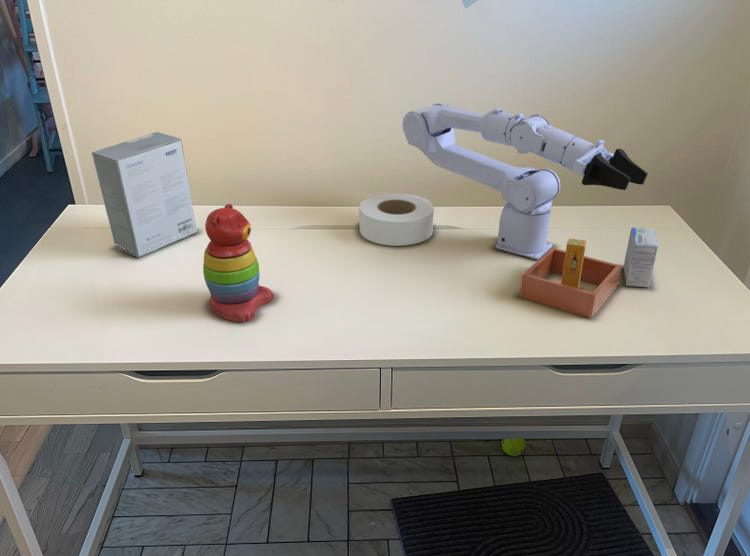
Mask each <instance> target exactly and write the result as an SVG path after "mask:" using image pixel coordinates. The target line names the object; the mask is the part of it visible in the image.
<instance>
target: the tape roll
mask: <svg viewBox="0 0 750 556" xmlns="http://www.w3.org/2000/svg"><path fill="white" fill-rule="evenodd" d="M434 209H435V208H434V205H433V204H432V202H431V201H430V200H428V199H426V198H424V197H421V196H419V195H414V194H408V193H383V194H377V195H374V196H373V195H372V196H370V197H368V198H366V199H364V200H362V201H361V202H360V203H359V206H358V219H359V221H358V222H359V224H358V225H359V233H360V235H361V236H362V237H363V238H364V239H366V240H367V241H369V242H372V243H376V244H379V245H384V246H391V247H393V246H394V247H395V246H396V247H400V246H411V245H416V244H419V243H423V242H425V241H427V240H428V239H430V238H431V236H433V233H434V213H435V212H434V211H435V210H434Z"/></svg>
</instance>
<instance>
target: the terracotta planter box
mask: <svg viewBox="0 0 750 556" xmlns="http://www.w3.org/2000/svg"><path fill="white" fill-rule="evenodd" d="M565 253H566V250H563V249H560V248H556V247H553V246H552V247H551V248H550V249H549V250H548V251H547V252H546V253H545V254H543V255H542V256H541V257H540V258H539V259H537V260H536V262H535V263H533V264H532V265H531V266H530V267H529V268H528V269H526V271H525V272H524V273H522V275H521V283H520V291H519V298H523V299H526V300H530V301H533V302H536V303H540V304H541V305H542V304H543V305H546V306H548V307H553V308H556V309H560V310H562V311H565V312H569V313H572V314H576V315H579V316H582V317H586V318H589V319H592V318H593V317H594V316H595V315H596V313H597V312H598V311H599V310H600V308H601V307H603V305H604V304H605V303H606V301H607V300H608V299H609V298H610V296H611V295H612V294H613V292H615V290H616V289H617V288H618V285H619V280H620V274H621V270H622V265H620V264H616V263H613V262H609V261H605V260H601V259H598V258H594V257H590V256H587V255H584V259H583V265H582V272H581V278H580V280H583V281H586V282H589V283H594V284H596V285H597V284H598V286H597V287H596V288H595V289H594V290H593V292H591V291H589V290H584V289H581V288H579V289H578V288H574V287H571V286H567V285H564V284H561V282H556V281H553V280H549V279H546V277H547V276H548V275H549V274H550V273H551V272H554V273H558V274H562V273H563V267H564V260H565Z"/></svg>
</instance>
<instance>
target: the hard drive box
mask: <svg viewBox="0 0 750 556" xmlns="http://www.w3.org/2000/svg"><path fill="white" fill-rule="evenodd" d="M184 154H185V153H184V147H183V143H182V139H181V138H180V137H176V136H172V135H170V134H166V133H162V132H160V131H159V132H158V131H157V132H152V133H148V134H145V135H142V136H139V137H136V138H132V139H129V140H126V141H122V142H120V143H116V144H114V145H110V146H107V147H104V148H101V149H99V150H95V151H92V152H91V157H92V160H93V164H94V168H95V173H96V176H97V180H98V184H99V188H100V193H101V196H102V200H103V204H104V208H105V212H106V217H107V220H108V223H109V228H110V232H111V236H112V240H113V244H114V248H115V250H119V251H121V252H123V253H126V254H128V255H129V256H133V257H135V258H140V257H143V256H145V255H148V254H151V253H152V252H155V251H157V250H159V249H161V248H164V247H165V246H168V245H171V244H173V243H175V242H177V241H179V240H183V239H185V238H187V237H189V236H191V235H194V234H196V233H197V232H198V229H197V224H196V216H195V212H194V206H193V201H192V196H191V188H190V183H189V177H188V171H187V166H186V160H185V155H184ZM192 230H193V231H192ZM190 231H191V232H190ZM185 233H186V234H185ZM180 235H181V236H180ZM175 237H176V238H175ZM173 238H174V239H173ZM163 242H164V243H163ZM115 244H117V245H115ZM118 245H119V246H118ZM156 245H157V246H156ZM120 246H121V247H120ZM122 247H123V248H122ZM124 248H125V249H124ZM149 248H150V249H149ZM144 250H145V251H144ZM131 251H132V252H131ZM139 252H140V253H139Z"/></svg>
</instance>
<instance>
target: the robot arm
mask: <svg viewBox="0 0 750 556" xmlns="http://www.w3.org/2000/svg"><path fill="white" fill-rule="evenodd" d="M455 130H462V131H468V132H473V133H480V135H481V138H482V139H483V140H485V141H487V142H490V143H491V142H492V143H497V144H500V145H505V146H510V147H514V148H515V149H516V152H517V154H521V155H524V154H528V153H533V154H535V155H537V156H538V157H541V158H543V159H545V160H548V161H550V162H552V163H554V164H556V165H558V166H561V167H562V168H564V169H567V170H569V171H571V172H572V173H574V174H577V175H579V176H581V177H582V179H581V185H583V186H601V187H607V188H612V189H614V190H615V189H616V190H620V191H626V190H627V189H628V187H629V185H630V183H631V184H636V185H640V186H642V185H644V184H645V181H646V179H647V177H648V175H649V173H648V172H647V171H645V170H644V169H643V168H642V167H641V166H639V165H638V164H637V163H635V162H634V161H633V160H632V159H631V158H630V157H629V156H628V155H627V153H626V151H625V150H623V148H616V149H615V151H614V153H612V152H609V151H608V150H607V149H606V148H605V147H604V145H605V144H606V143H605V142H606V141H605V140H603V139H599V140H597V141H596V143H592V142H590V141H587V140H586V139H583V138H580V137H579V136H576V135H573V134H572V133H569V132H567V131H564V130H562V129H560V128H558V127H555V126H553V125H551V124H550V122H549V120H548V119H547V118H546V117H544V116H543V115H539V114H538V113H536V114H533V115H530V116H529V117H525V115H524V113H521V112H519V113H516V114H514V113H508V112H504V108H500V107H495V108H494V109H492V110H491V109H490V110H488V112H486V113H485V114H482V113H479V112H475V111H471V110H467V109H463V108H460V107H456V106H453V105H451V104H450V103H444V104H443V103H440V102H439V103H438V102H436V103H434V104H432V105H430V106H427V107H424V108H420V109H418V110H411V111H408V112H407V113H406V114H405V115H404V116H403V119H402V131H403V133H404V136H405V139H406V141H407V144H408V145H409V146H412V147H415V148H418V149H419V151H421V153H422V154H423V155H424V156H425V157H427V159H428V160H430V162H431V163H432V164H433V165H435V166H437V167H439V168H440V169H444V170H447V171H449V172H450V173H451V172H452V173H454V174H456V175H459V176H462V177H463V178H467V179H469V180H472V181H474V182H477V183H478V184H481V185H484V186H487V187H489V188H492V189H494V190H496V191H499V192H501V197H502V200H503V201H506V203H505V204H504V206H503V208H502V210H501V213H500V217H499V223H498V224H499V225H498V232H497V233H498V234H497V244H496V245H495V249H497V250H500V251H504V252H507V253H511V254H515V255H519V256H521V257H526V258H529V259H533V260H539V259H540V258H541V257H542V256H543V255H545V254H546V253H547V252H548V251H549V250H550V249H551V248H552V247H553V246H554V244H553V243H552V242H548V233H549V228H550V227H549V226H550V220H551V212H552V206H553V200H554V199H555V198H557V197H558V195H559V194H560V192H561V181H560V178H559V175H558V174H557V172H555V171H554V170H552V169H550V168H539V169H537V168H534V167H530V166H529V167H526V166H525V167H517V166H515V165H511V164H508V163H506V162H503V161H500V160H497V159H495V158H492V157H490V156H487V155H484V154H482V153H479V152H476V151H474V150H471V149H468V148H466V147H463V146H460V145H458V144H456V136H455V135H456V134H455Z"/></svg>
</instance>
